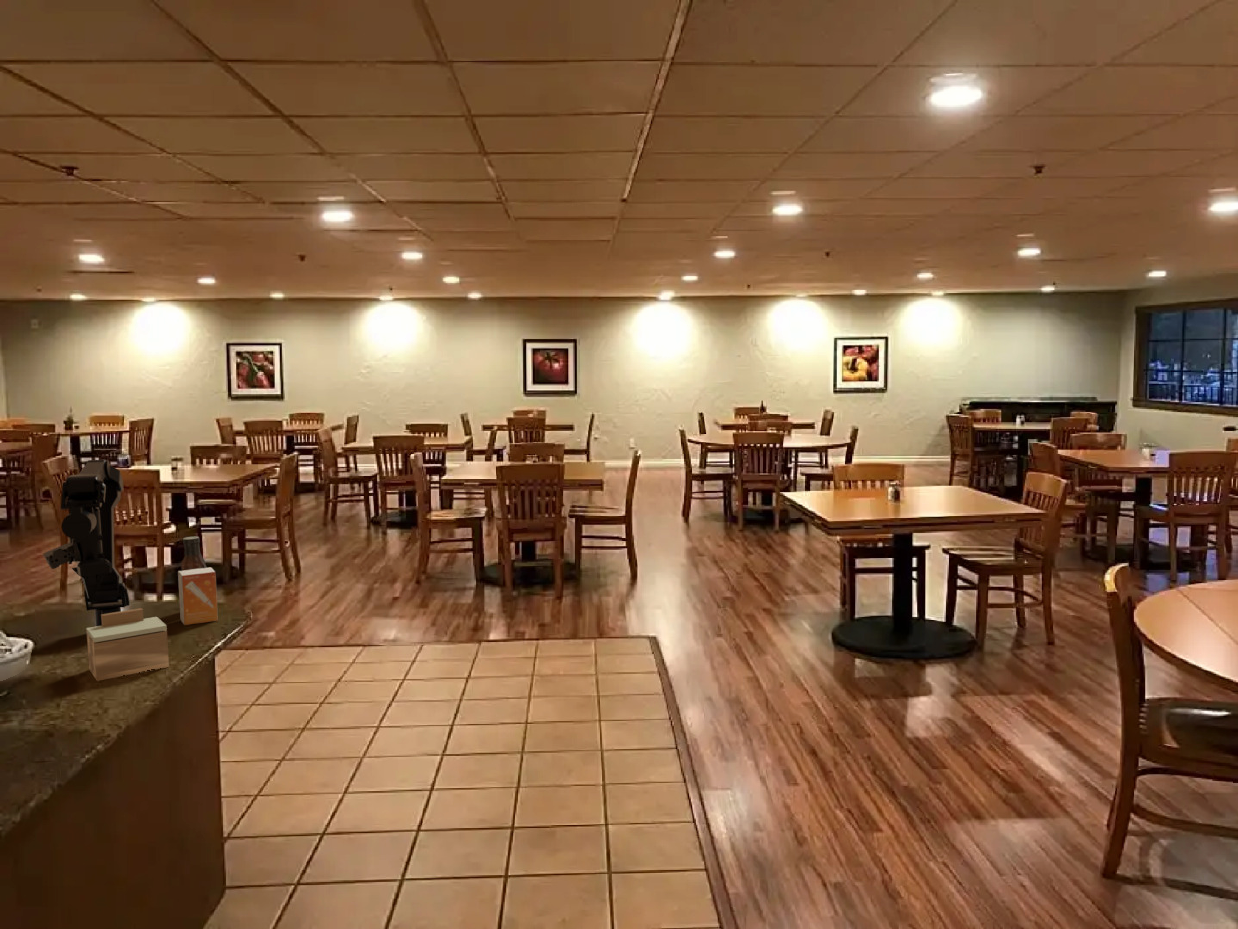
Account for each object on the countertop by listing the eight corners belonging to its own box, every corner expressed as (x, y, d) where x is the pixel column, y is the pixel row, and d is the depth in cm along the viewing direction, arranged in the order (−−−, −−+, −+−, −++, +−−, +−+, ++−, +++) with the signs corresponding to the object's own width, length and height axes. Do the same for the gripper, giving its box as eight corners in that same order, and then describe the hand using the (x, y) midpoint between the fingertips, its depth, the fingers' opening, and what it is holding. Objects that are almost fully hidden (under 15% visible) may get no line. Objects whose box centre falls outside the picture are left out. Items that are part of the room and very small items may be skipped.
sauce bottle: (215, 609, 252) (211, 536, 250) (198, 615, 246) (193, 540, 244) (196, 606, 254) (191, 534, 252) (178, 612, 248) (173, 539, 246)
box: (89, 669, 204) (86, 634, 203) (159, 656, 212) (157, 622, 211) (97, 680, 197) (94, 643, 196) (169, 666, 205) (166, 631, 204)
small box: (184, 626, 236) (181, 575, 235) (180, 620, 241) (177, 570, 240) (218, 621, 241) (215, 571, 239) (213, 615, 246) (211, 566, 244)
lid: (86, 632, 203) (85, 616, 202) (157, 621, 211) (156, 605, 211) (94, 642, 196) (93, 626, 195) (166, 630, 204) (165, 614, 204)
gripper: (38, 529, 213) (44, 596, 215) (51, 542, 198) (56, 613, 200) (94, 523, 220) (98, 588, 222) (110, 535, 205) (115, 605, 207)
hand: (91, 598), depth 213 cm, fingers closed
